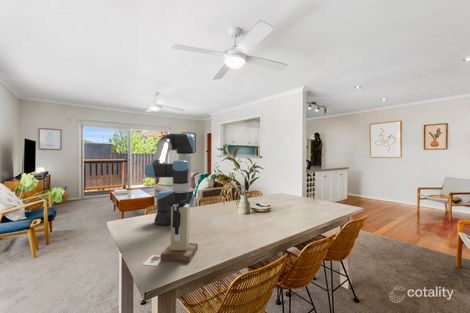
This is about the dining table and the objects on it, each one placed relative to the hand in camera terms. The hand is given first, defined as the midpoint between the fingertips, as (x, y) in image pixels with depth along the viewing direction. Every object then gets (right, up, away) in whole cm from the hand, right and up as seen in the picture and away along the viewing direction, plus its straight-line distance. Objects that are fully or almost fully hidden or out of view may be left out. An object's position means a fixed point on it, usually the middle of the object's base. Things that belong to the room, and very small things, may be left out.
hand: (180, 237), depth 106 cm
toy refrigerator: (0, -5, 0) cm, 5 cm away
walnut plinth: (0, -9, 0) cm, 9 cm away
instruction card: (-11, -9, -6) cm, 15 cm away
